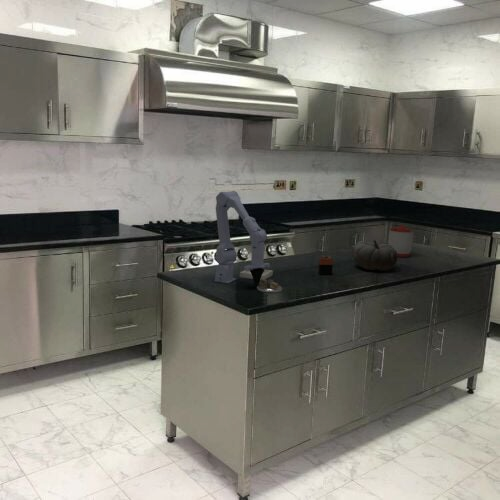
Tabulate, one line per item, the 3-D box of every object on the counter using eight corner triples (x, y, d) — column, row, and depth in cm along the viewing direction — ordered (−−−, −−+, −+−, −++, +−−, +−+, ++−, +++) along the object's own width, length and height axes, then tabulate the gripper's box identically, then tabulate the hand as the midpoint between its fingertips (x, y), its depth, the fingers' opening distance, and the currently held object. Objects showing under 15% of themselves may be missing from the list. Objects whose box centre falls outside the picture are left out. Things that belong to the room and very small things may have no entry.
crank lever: (278, 288, 254) (279, 281, 254) (274, 289, 252) (274, 282, 252) (256, 281, 265) (256, 274, 265) (251, 282, 263) (251, 275, 263)
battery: (318, 273, 293) (319, 255, 291) (330, 273, 293) (331, 255, 291) (319, 275, 289) (320, 256, 287) (332, 275, 289) (333, 257, 287)
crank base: (277, 293, 249) (277, 291, 249) (253, 290, 253) (253, 288, 253) (285, 287, 260) (285, 286, 260) (262, 284, 264) (262, 282, 264)
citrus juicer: (419, 258, 344) (422, 226, 341) (394, 258, 340) (397, 226, 336) (406, 253, 359) (409, 223, 355) (382, 253, 355) (385, 223, 351)
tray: (263, 280, 272) (263, 275, 272) (239, 277, 277) (239, 272, 277) (272, 275, 284) (272, 270, 283) (249, 272, 289) (249, 267, 288)
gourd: (342, 259, 316) (350, 231, 312) (377, 265, 326) (386, 237, 322) (363, 274, 294) (372, 243, 290) (401, 279, 303) (410, 250, 299)
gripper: (251, 258, 248) (250, 287, 250) (274, 255, 257) (273, 283, 260) (241, 256, 253) (240, 284, 255) (264, 253, 262) (263, 280, 265)
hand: (256, 283), depth 258 cm, fingers closed
